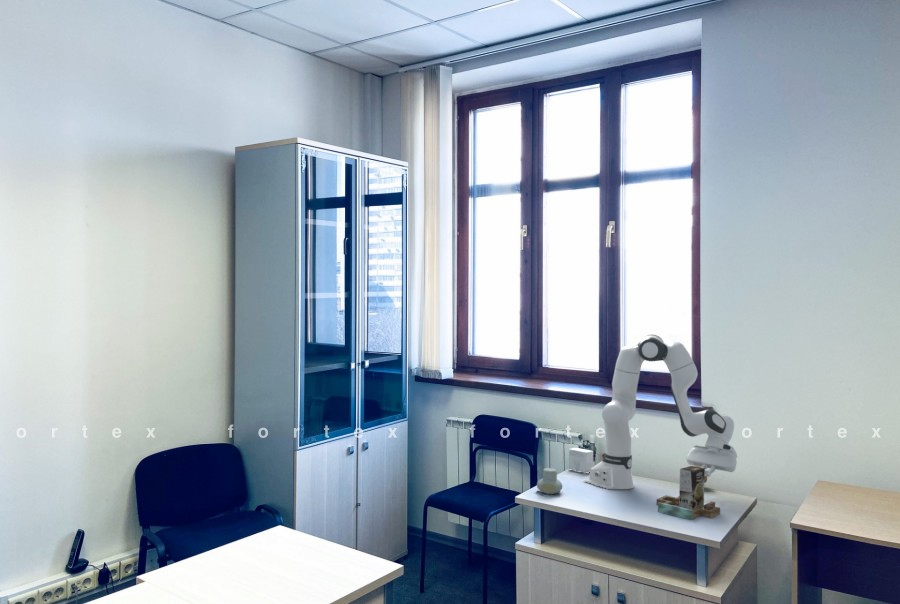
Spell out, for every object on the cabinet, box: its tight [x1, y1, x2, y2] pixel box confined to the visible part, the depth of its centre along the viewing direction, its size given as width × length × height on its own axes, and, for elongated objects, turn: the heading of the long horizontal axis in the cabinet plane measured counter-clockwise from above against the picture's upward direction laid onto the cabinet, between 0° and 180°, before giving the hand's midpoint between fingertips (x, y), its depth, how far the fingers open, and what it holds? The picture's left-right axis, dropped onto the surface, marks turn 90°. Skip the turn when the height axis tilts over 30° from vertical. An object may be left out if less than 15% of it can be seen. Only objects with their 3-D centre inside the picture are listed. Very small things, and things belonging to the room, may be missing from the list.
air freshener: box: [536, 467, 563, 495], centre depth 296 cm, size 11×8×10 cm
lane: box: [656, 494, 721, 521], centre depth 274 cm, size 23×22×4 cm
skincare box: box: [568, 447, 594, 473], centre depth 335 cm, size 10×6×10 cm, turn 44°
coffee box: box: [678, 465, 706, 510], centre depth 278 cm, size 9×6×16 cm
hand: (705, 475), depth 287 cm, fingers closed
